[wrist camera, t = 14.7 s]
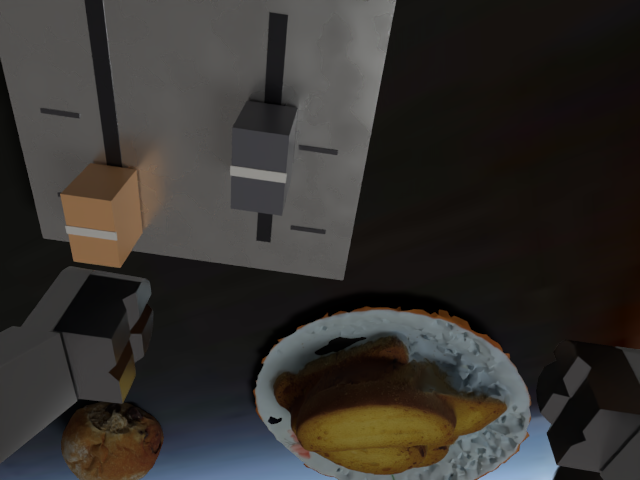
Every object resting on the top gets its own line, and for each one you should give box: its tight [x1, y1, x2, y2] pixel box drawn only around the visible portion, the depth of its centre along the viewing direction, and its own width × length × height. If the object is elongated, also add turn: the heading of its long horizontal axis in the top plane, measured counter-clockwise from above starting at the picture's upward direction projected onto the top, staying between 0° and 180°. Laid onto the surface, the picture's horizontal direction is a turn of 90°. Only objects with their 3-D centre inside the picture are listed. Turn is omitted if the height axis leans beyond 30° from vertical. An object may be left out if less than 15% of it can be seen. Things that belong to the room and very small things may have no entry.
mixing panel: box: [0, 0, 396, 280], centre depth 33 cm, size 20×22×3 cm
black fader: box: [230, 101, 298, 216], centre depth 30 cm, size 5×3×4 cm, turn 173°
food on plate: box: [253, 306, 531, 480], centre depth 47 cm, size 25×25×7 cm
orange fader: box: [60, 163, 143, 268], centre depth 33 cm, size 5×3×4 cm, turn 173°
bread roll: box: [61, 402, 164, 480], centre depth 54 cm, size 10×10×8 cm
